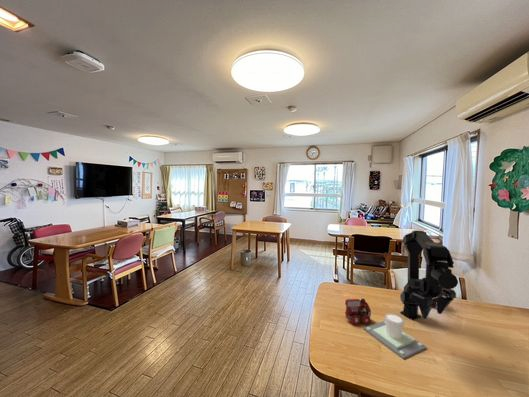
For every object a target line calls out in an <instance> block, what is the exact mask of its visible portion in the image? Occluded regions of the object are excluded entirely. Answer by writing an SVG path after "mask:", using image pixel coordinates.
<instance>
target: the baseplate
mask: <svg viewBox="0 0 529 397" xmlns="http://www.w3.org/2000/svg"><path fill="white" fill-rule="evenodd" d="M363 331H365V332H366V333H367V334H369V335H370V336H371V337H373V339H376V341H378V342H380V343H381V344H382V345H384V346H385V347H386V348H388V349H389V350H390V351H391V352H393V353H394V354H395V355H397V356H399V358H401V359H402V360H405V359H407V358H409V357H411V356H413V355H416V354H418V353H419V352H422V351H424V350H427V345H425V344H424V343H422V342H421V341H418V340H417V339H415V338H414V337H413V336H411V335H409V334H408V333H406V332H404V331H402V336H401V338H400V339H394V338H392V337H390V336H388V335H387V334H386V323H385V320H383V321H380V322H377V323H376V322H375V323H373V324H371V325H368V326H367V325H366V326H364V327H363Z"/></svg>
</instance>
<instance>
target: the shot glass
mask: <svg viewBox="0 0 529 397" xmlns="http://www.w3.org/2000/svg"><path fill="white" fill-rule="evenodd" d="M384 318H385V320H384V321H385V323H386V334H387V335H388V336H390V337H392V338H394V339H400V338H401V336H402V331H403V329H404V323H405V319H403V317H401V316H399V315H397V314H394V313H386V314H385V315H384ZM403 332H404V331H403Z"/></svg>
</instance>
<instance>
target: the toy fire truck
mask: <svg viewBox="0 0 529 397" xmlns="http://www.w3.org/2000/svg"><path fill="white" fill-rule="evenodd" d="M344 302H345V317H346V318H347V319H348V320H349V319H350V322H351V324H353V325H354V326H357V325H359V324H360V322H362V323H363V325H366V326H367V325H369V324H371V319H372V318H371V315H372V314H371V313H372V311H371V308H370V305H369V303H368V302H367V301H366V299H365V298H361V299H360V298H352V299H351V298H349V299H346V300H345V301H344Z"/></svg>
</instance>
